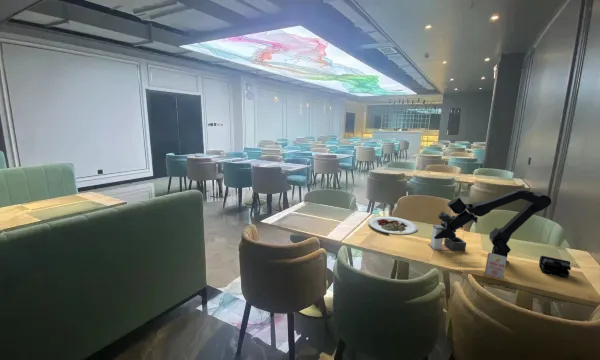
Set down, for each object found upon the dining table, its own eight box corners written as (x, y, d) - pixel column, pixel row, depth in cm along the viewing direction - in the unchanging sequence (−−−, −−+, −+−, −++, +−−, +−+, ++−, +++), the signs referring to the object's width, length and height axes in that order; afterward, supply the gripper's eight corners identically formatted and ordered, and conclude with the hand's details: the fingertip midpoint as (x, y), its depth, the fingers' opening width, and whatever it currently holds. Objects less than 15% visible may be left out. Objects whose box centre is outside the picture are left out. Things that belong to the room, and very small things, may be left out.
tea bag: (485, 270, 131) (488, 251, 129) (502, 275, 127) (506, 255, 125) (484, 274, 128) (488, 254, 126) (502, 279, 124) (506, 258, 122)
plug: (441, 249, 150) (444, 227, 147) (433, 248, 150) (436, 227, 147) (437, 245, 154) (440, 225, 151) (430, 245, 154) (433, 224, 151)
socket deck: (465, 252, 148) (467, 243, 147) (433, 252, 148) (434, 242, 147) (457, 246, 156) (458, 236, 155) (426, 245, 156) (428, 236, 155)
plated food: (415, 240, 163) (415, 235, 162) (363, 230, 175) (363, 225, 175) (418, 223, 189) (418, 219, 188) (373, 216, 202) (373, 211, 201)
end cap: (565, 272, 132) (568, 259, 130) (569, 279, 126) (573, 265, 124) (537, 266, 137) (540, 253, 135) (540, 272, 131) (543, 259, 129)
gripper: (448, 203, 154) (423, 219, 160) (451, 213, 137) (424, 230, 143) (462, 219, 153) (437, 234, 159) (467, 231, 136) (439, 248, 142)
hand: (434, 236), depth 151 cm, fingers closed on plug, 5 cm apart
